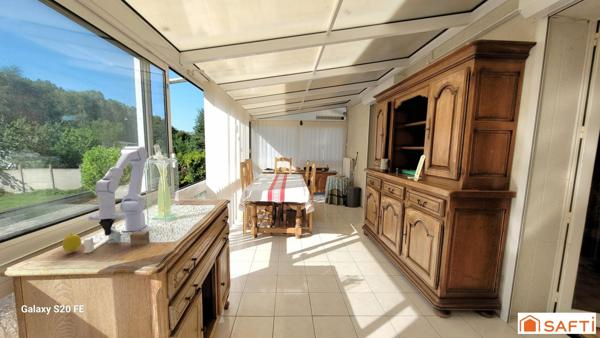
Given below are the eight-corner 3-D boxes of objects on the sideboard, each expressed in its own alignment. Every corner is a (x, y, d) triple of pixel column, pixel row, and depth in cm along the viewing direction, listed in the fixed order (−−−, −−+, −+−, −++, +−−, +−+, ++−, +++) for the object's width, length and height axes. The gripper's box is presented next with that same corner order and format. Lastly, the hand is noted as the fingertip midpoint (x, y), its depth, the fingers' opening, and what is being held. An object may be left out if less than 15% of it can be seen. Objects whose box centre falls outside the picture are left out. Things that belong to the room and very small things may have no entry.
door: (108, 236, 111) (107, 226, 110) (113, 235, 112) (112, 225, 112) (118, 242, 104) (117, 231, 104) (123, 241, 106) (122, 230, 105)
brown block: (135, 242, 107) (134, 231, 106) (149, 241, 108) (148, 230, 108) (130, 245, 103) (129, 234, 102) (145, 244, 104) (144, 233, 104)
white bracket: (110, 236, 114) (110, 225, 113) (116, 235, 114) (115, 225, 114) (83, 253, 96) (82, 240, 95) (90, 252, 96) (89, 239, 96)
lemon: (60, 256, 93) (58, 237, 92) (66, 251, 98) (64, 232, 97) (79, 253, 95) (77, 234, 94) (84, 248, 100) (82, 230, 99)
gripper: (82, 208, 101) (84, 238, 102) (119, 207, 103) (121, 237, 104) (93, 204, 108) (95, 233, 109) (128, 204, 110) (129, 231, 111)
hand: (108, 234), depth 107 cm, fingers closed, pressing on door
